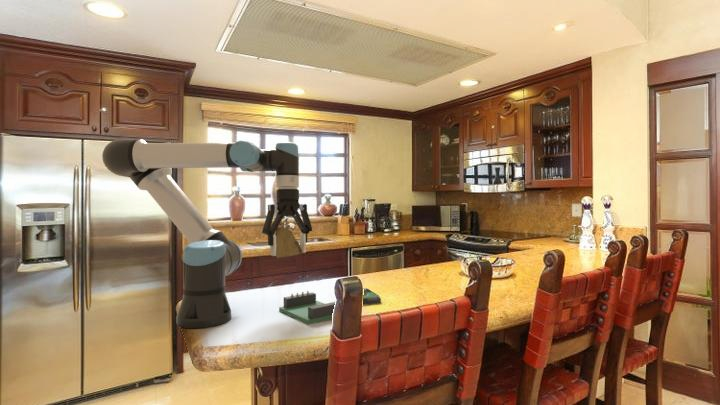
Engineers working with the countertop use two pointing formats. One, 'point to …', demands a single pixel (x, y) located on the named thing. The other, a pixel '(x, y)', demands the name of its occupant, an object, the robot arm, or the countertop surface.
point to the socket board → (307, 308)
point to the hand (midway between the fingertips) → (288, 253)
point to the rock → (286, 243)
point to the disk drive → (370, 297)
